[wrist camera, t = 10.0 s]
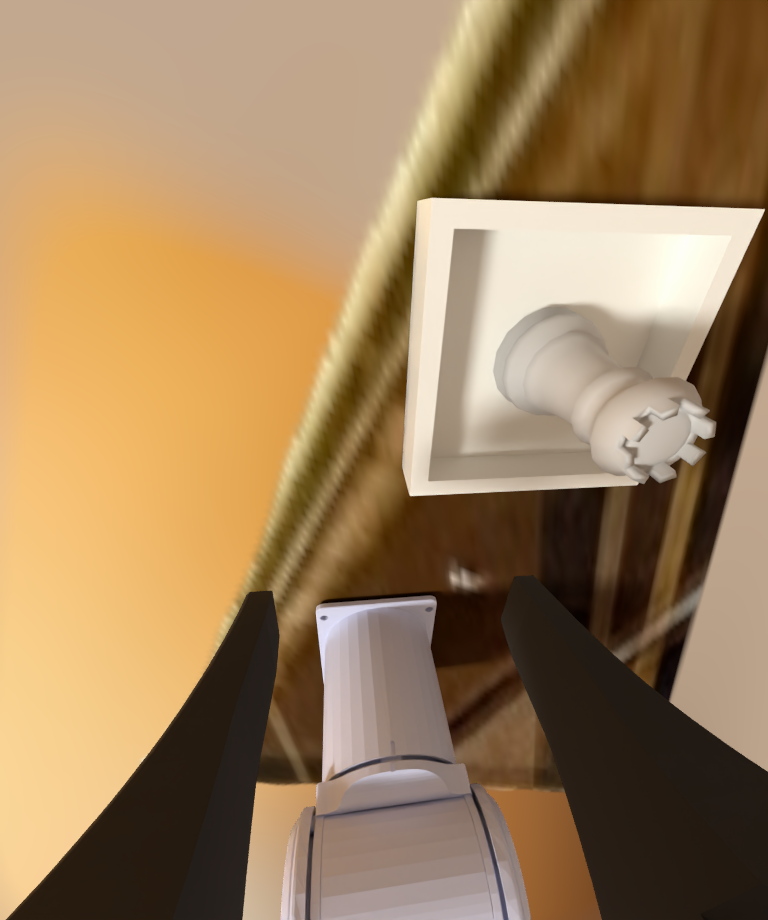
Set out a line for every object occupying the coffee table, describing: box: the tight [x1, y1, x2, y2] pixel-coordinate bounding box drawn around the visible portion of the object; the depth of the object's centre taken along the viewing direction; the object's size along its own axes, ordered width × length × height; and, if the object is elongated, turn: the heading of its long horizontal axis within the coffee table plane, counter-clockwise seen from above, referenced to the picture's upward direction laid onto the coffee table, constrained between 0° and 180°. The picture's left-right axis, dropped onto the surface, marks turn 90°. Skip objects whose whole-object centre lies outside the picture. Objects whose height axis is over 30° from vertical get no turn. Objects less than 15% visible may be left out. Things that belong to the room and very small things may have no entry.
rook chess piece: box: [493, 307, 716, 484], centre depth 14 cm, size 4×4×8 cm
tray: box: [402, 198, 765, 496], centre depth 17 cm, size 12×12×2 cm
